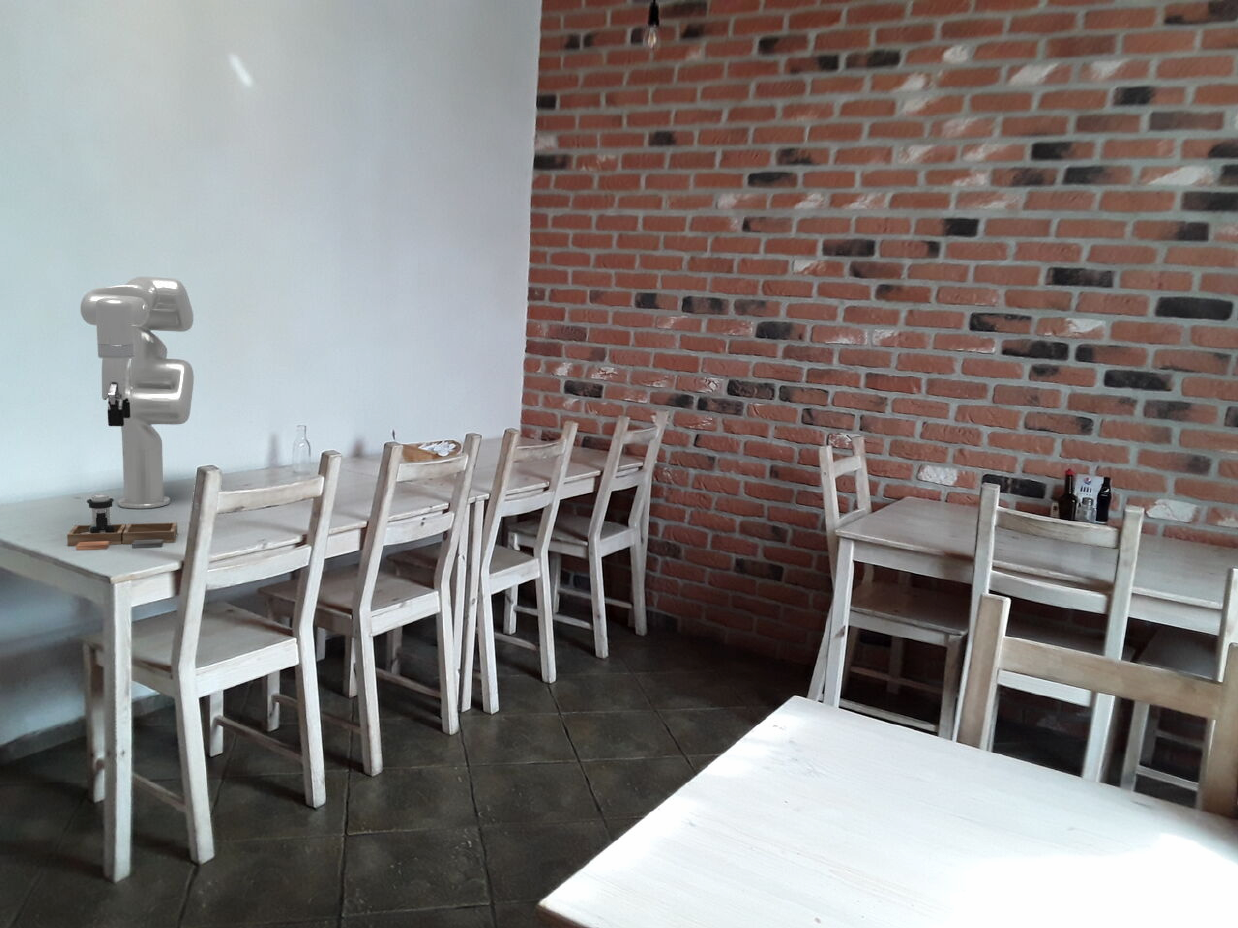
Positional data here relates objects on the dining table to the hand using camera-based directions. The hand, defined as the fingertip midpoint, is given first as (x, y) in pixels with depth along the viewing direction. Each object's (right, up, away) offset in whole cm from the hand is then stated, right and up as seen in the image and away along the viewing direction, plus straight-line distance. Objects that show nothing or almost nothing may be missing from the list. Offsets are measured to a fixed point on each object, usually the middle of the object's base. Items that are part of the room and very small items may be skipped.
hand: (119, 421), depth 211 cm
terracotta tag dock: (0, -28, -9) cm, 30 cm away
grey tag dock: (+10, -28, -5) cm, 30 cm away
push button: (-1, -28, -8) cm, 29 cm away
